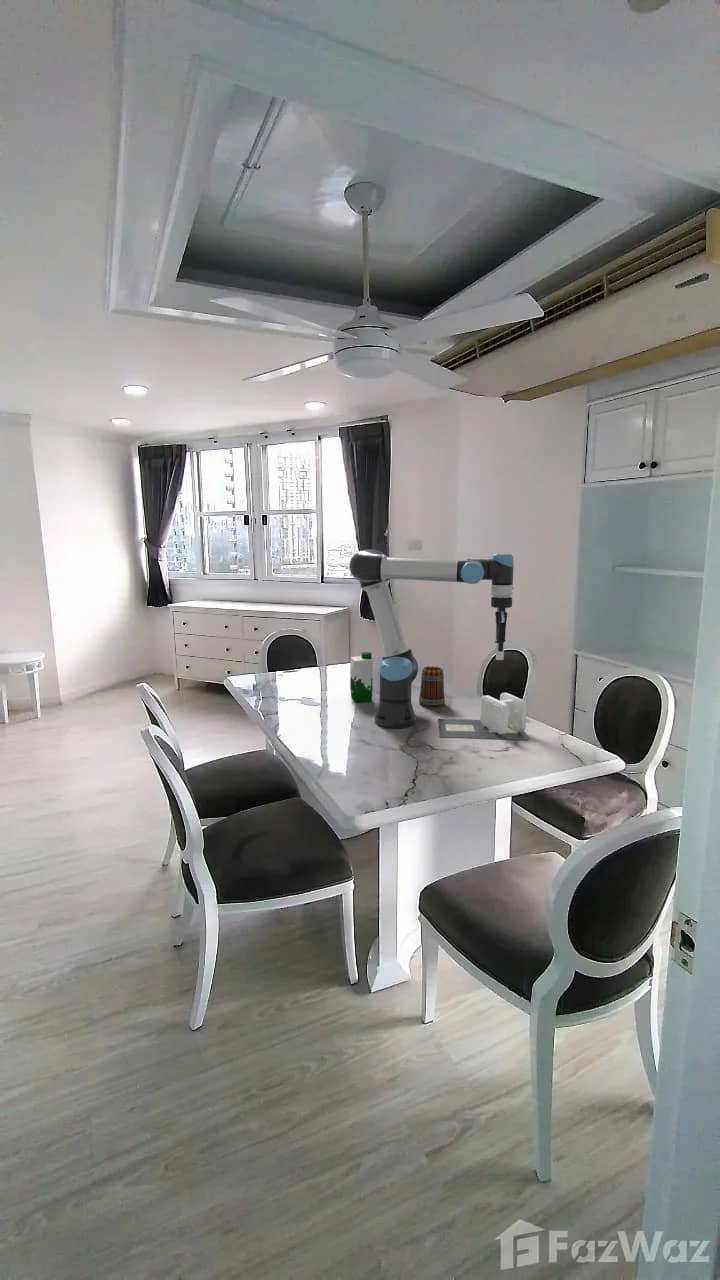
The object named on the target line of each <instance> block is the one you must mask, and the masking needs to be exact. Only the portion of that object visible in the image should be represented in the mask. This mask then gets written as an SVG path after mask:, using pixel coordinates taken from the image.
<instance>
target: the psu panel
mask: <svg viewBox="0 0 720 1280" xmlns="http://www.w3.org/2000/svg"><path fill="white" fill-rule="evenodd" d="M437 722H438V723H437V724H438V732H439V733H438V734H439V738H449V739H450V738H452V739H480V740H482V739H483V740H484V739H485V740H503V741H504V740H507V741H508V740H509V741H510V740H511V741H530V740H529V738H528V735H527V734H526V732H525V730H522V731H517V730H515V729H514V728H513V727H511V726H508V732H507V733H506V734H498V733H496V732H495V731H494V730H492V729H489V728H487V727H485V726H484V725H483V724H482V723H481V721H480V719H463V718H462V719H461V718H460V719H458V718H457V719H456V718H437Z"/></svg>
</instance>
